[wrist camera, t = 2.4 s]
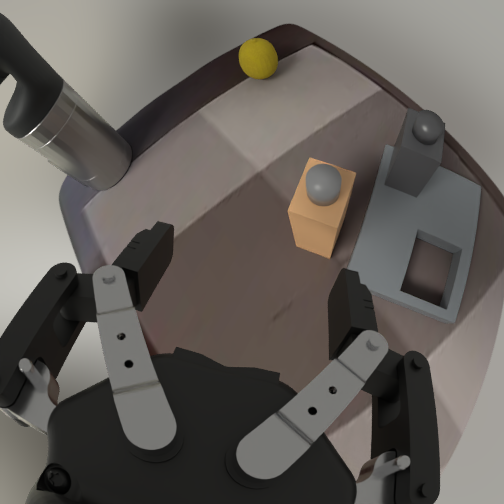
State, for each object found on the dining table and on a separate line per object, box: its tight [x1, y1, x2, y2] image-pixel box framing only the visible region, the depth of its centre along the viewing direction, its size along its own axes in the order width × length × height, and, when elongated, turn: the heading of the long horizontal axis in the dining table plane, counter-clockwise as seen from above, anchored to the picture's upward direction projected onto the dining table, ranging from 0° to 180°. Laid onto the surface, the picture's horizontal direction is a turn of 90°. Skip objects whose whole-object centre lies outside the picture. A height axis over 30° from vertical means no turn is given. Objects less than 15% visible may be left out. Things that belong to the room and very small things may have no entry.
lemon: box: [239, 38, 278, 79], centre depth 36 cm, size 6×6×8 cm
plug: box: [288, 158, 356, 259], centre depth 26 cm, size 4×5×13 cm
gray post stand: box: [347, 108, 481, 323], centre depth 24 cm, size 14×17×12 cm
